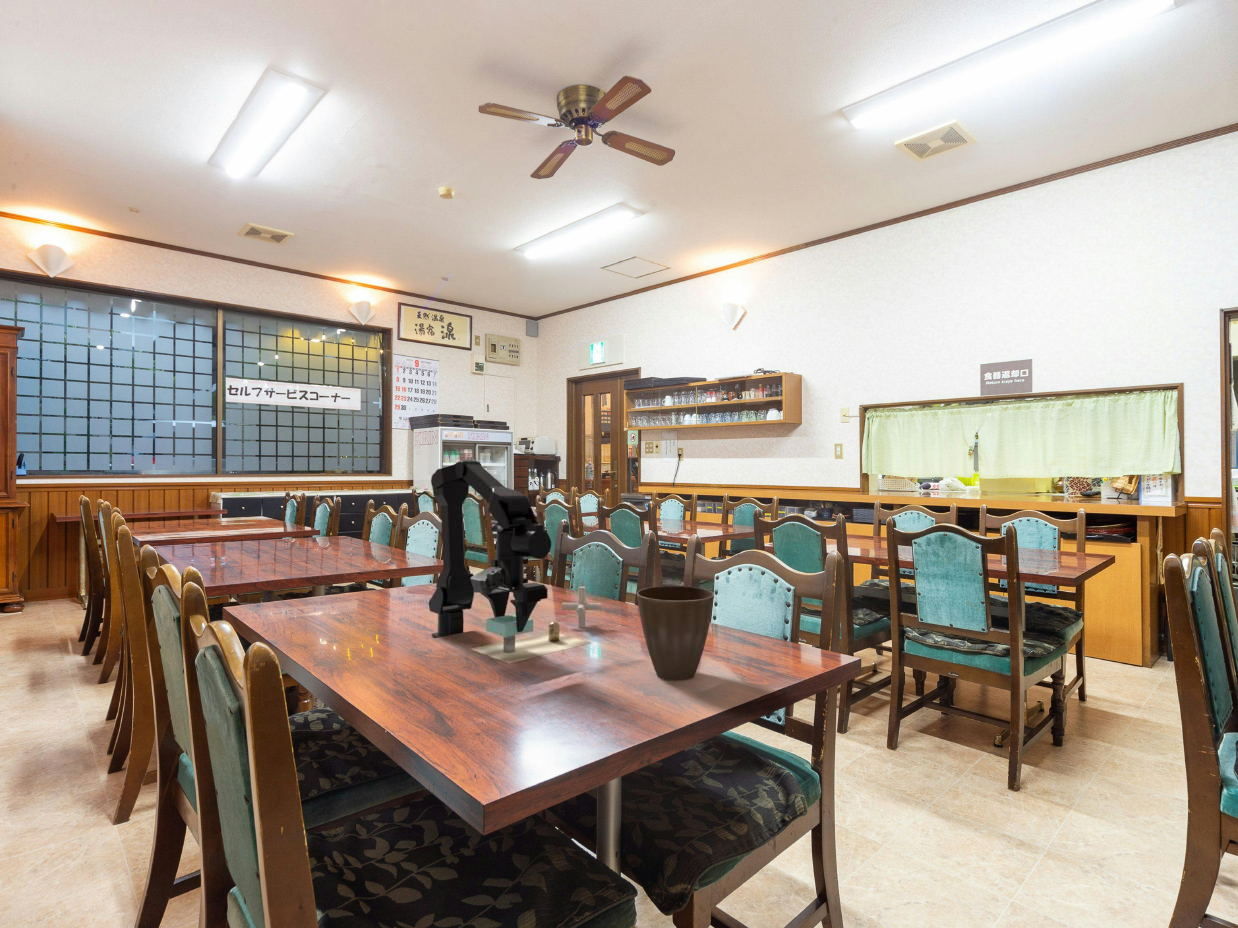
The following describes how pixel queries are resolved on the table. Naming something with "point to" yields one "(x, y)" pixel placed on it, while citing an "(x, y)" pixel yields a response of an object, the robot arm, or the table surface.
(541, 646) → the birch stand board
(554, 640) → the bronze post
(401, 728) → the table surface
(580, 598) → the pipe connector
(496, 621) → the teal collar
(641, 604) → the plant pot
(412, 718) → the table surface
